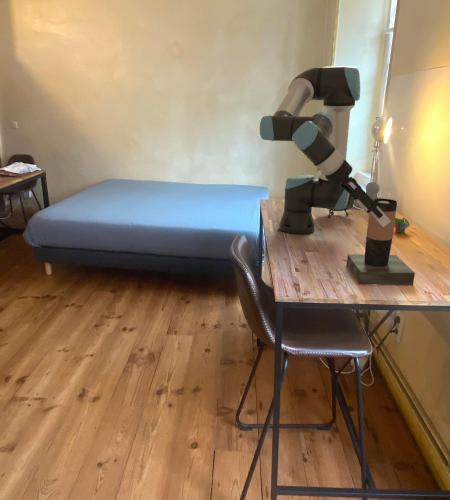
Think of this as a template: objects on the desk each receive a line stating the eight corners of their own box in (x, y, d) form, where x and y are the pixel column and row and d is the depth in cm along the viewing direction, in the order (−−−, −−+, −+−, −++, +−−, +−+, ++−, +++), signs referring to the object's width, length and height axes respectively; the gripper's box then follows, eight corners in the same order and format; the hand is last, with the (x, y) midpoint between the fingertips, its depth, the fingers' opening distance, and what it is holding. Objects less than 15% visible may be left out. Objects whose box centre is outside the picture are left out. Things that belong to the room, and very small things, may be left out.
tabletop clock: (328, 219, 201) (332, 166, 193) (316, 215, 209) (320, 163, 201) (352, 216, 206) (358, 164, 198) (340, 212, 214) (345, 162, 206)
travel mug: (392, 267, 131) (401, 203, 124) (367, 267, 131) (375, 203, 125) (383, 258, 138) (392, 198, 132) (360, 258, 138) (367, 198, 132)
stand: (346, 265, 144) (347, 254, 142) (394, 266, 143) (395, 254, 142) (359, 284, 128) (361, 272, 127) (412, 285, 128) (415, 272, 127)
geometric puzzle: (400, 232, 174) (408, 215, 175) (385, 228, 179) (393, 211, 180) (406, 239, 179) (414, 222, 180) (391, 235, 184) (399, 219, 185)
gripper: (316, 170, 137) (357, 215, 142) (334, 184, 114) (382, 238, 118) (334, 153, 135) (375, 200, 140) (356, 164, 112) (404, 220, 117)
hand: (379, 217), depth 129 cm, fingers open, 13 cm apart
